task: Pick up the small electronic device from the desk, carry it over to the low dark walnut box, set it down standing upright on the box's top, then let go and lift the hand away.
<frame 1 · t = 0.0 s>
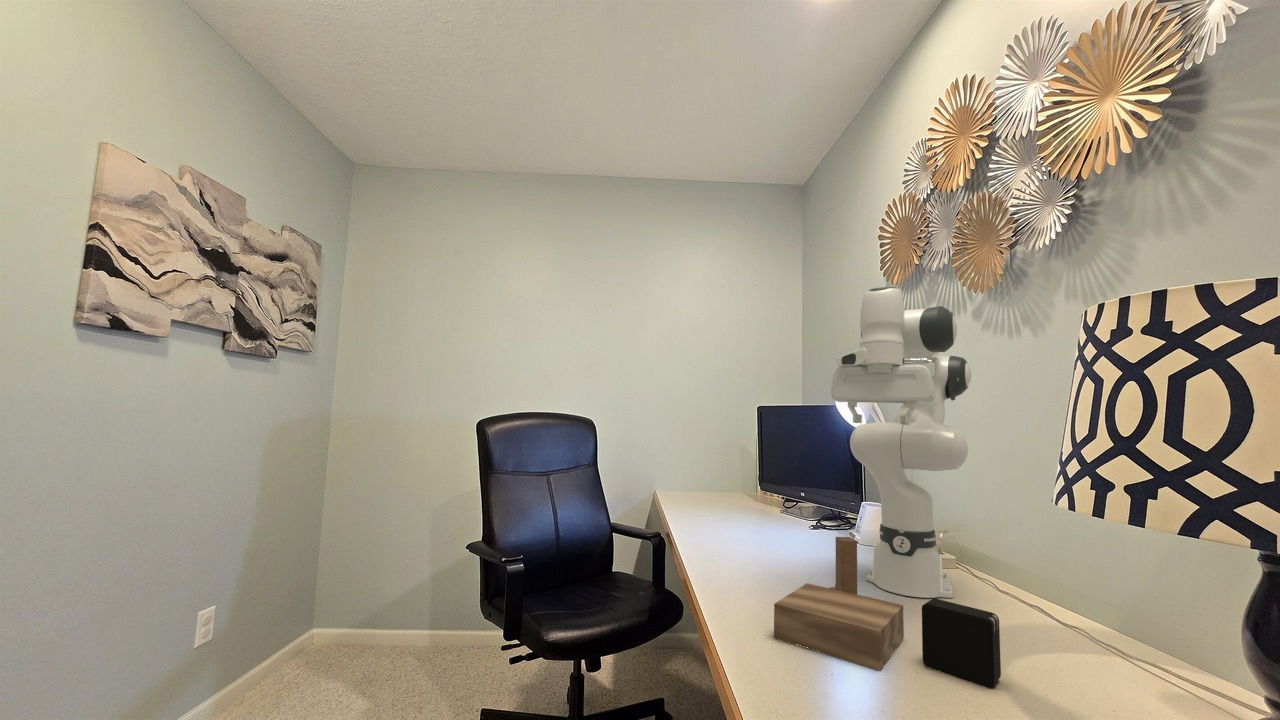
hand: (880, 423, 112), 39 cm above the table, tool pointing down, fingers open, 8 cm apart
wooden block: (843, 611, 111), on the table
walnut box: (839, 638, 97), on the table
electronic device: (960, 674, 85), on the table
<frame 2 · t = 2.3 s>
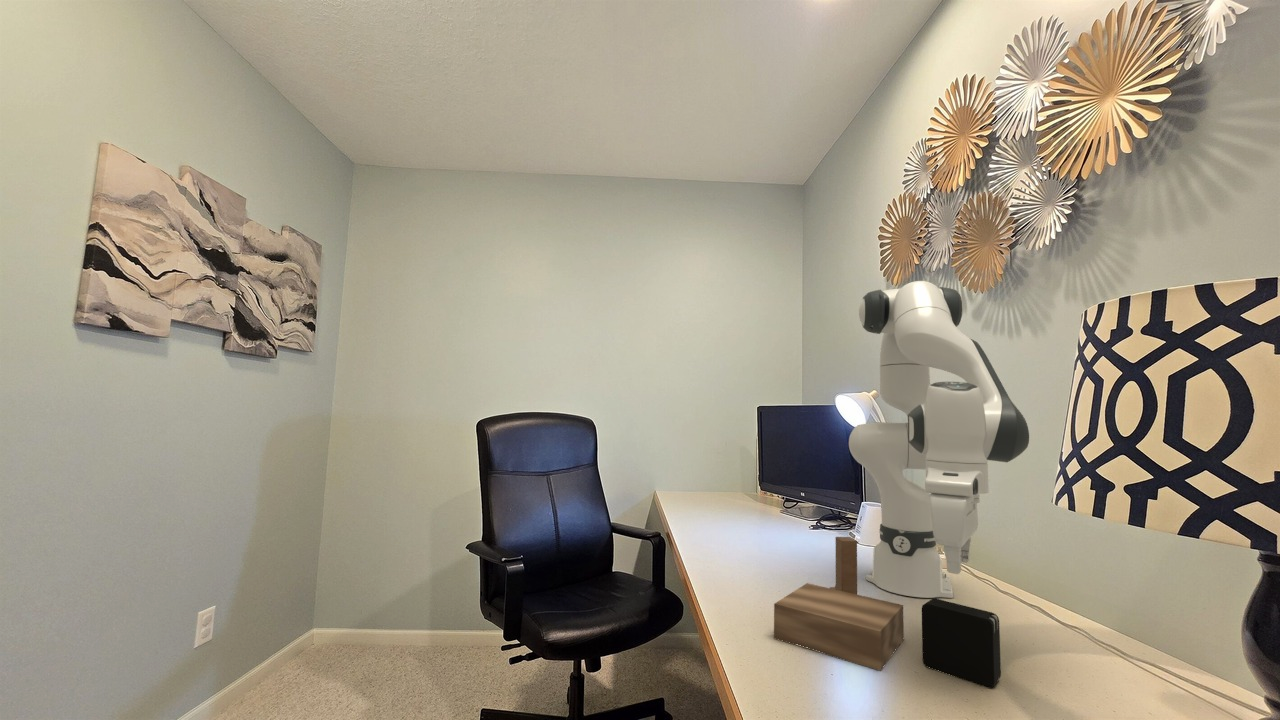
hand: (958, 566, 86), 16 cm above the table, tool pointing down, fingers open, 8 cm apart
nothing on the table moved.
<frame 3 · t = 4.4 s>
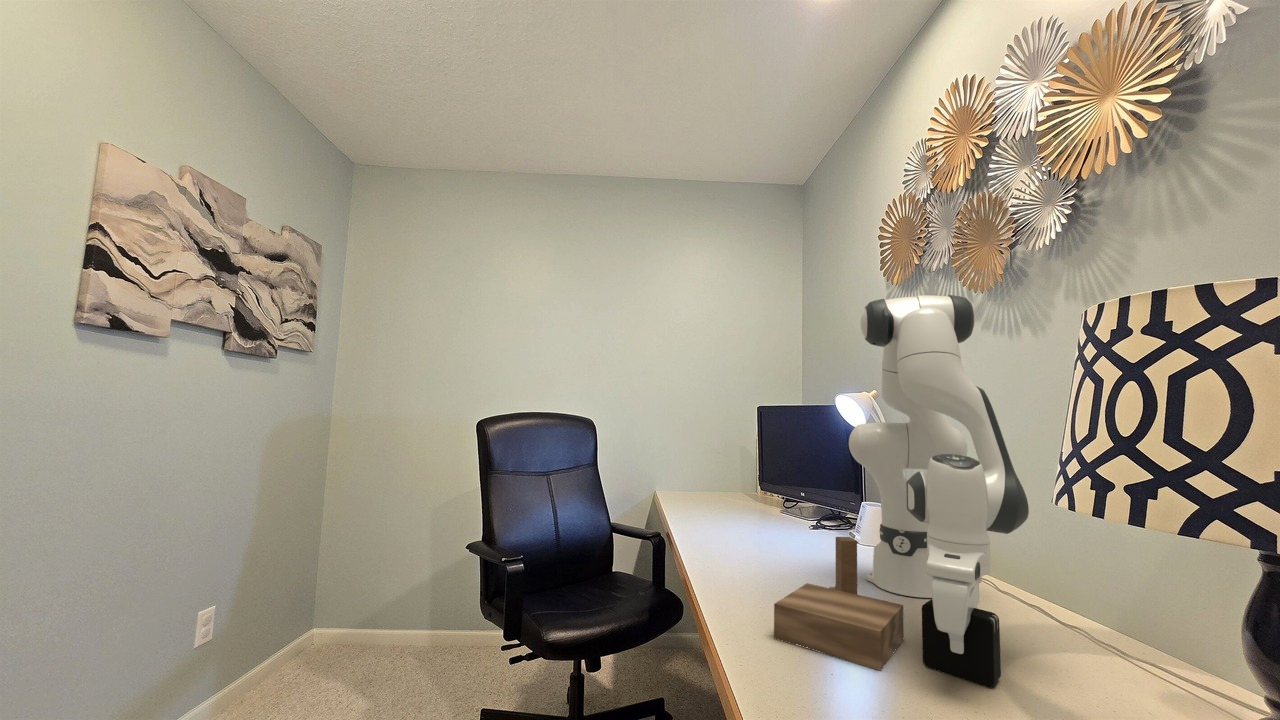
hand: (960, 646, 85), 4 cm above the table, tool pointing down, fingers closed on electronic device, 4 cm apart
electronic device: (960, 674, 85), on the table, touching gripper
everything else where it was.
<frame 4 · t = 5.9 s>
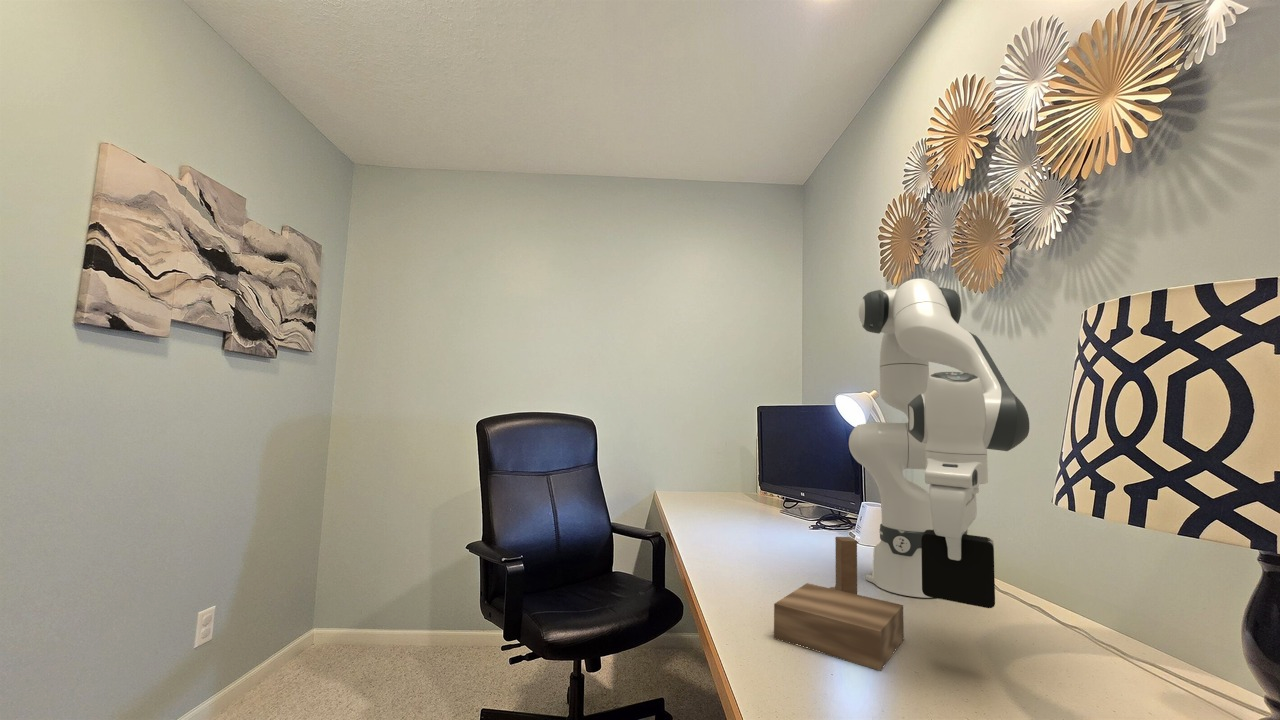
hand: (957, 555, 87), 18 cm above the table, tool pointing down, fingers closed on electronic device, 3 cm apart
electronic device: (958, 599, 87), point 11 cm above the table, touching gripper
everything else where it was.
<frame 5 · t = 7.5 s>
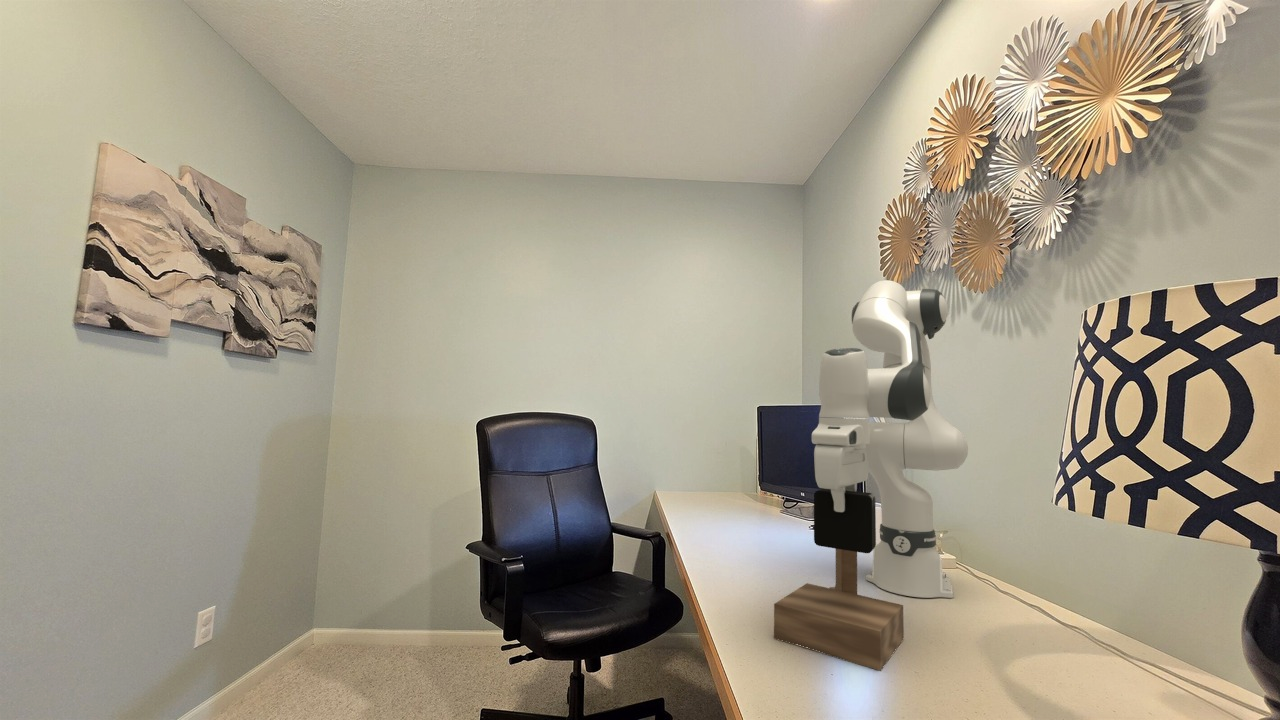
hand: (844, 509, 98), 23 cm above the table, tool pointing down, fingers closed on electronic device, 3 cm apart
electronic device: (844, 548, 98), point 16 cm above the table, touching gripper
everything else where it was.
when the fingers open (13 cm above the table, at t = 9.1 s): electronic device stays where it is, resting on walnut box.
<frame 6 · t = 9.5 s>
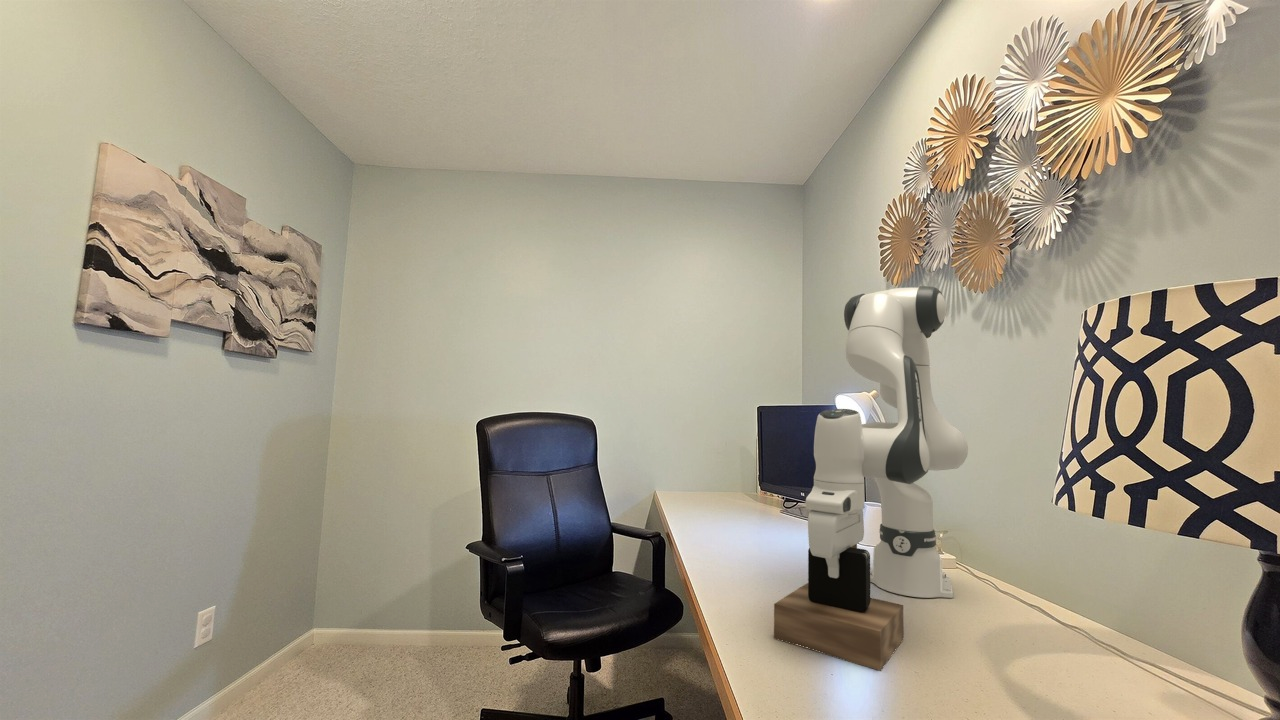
hand: (838, 573, 98), 11 cm above the table, tool pointing down, fingers open, 4 cm apart
electronic device: (839, 605, 97), point 6 cm above the table, touching walnut box
everything else where it was.
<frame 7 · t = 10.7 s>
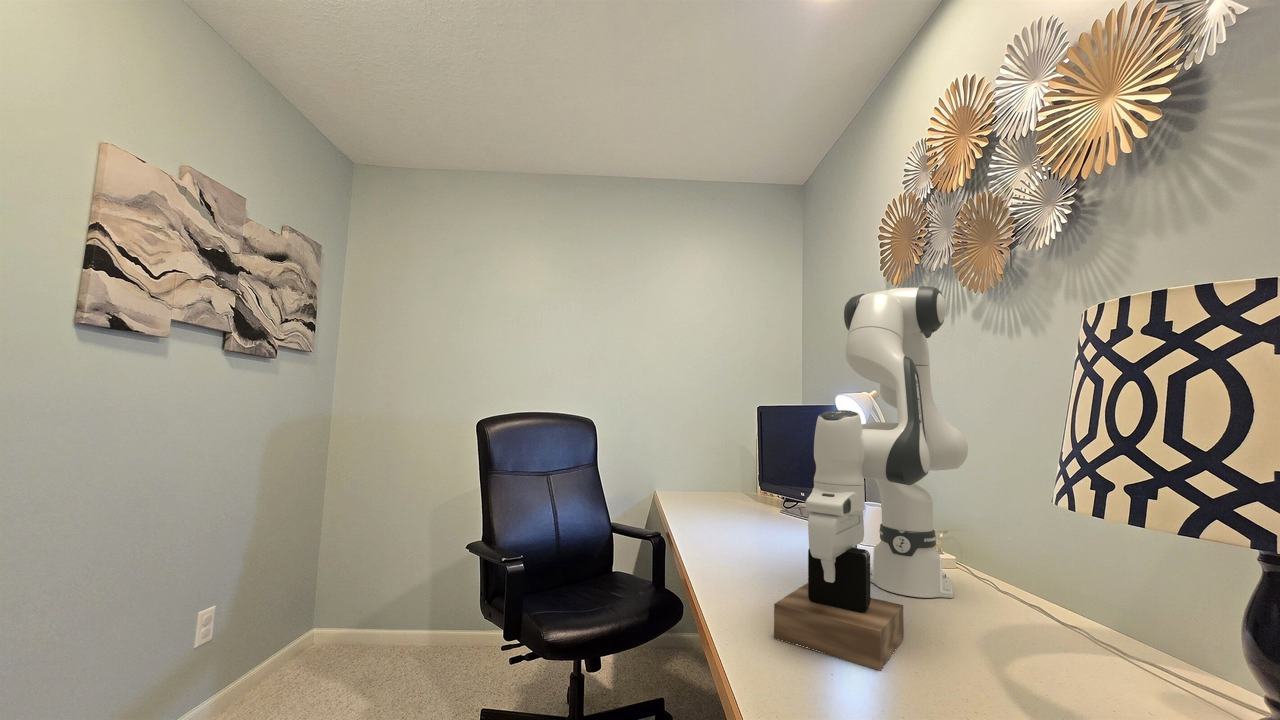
hand: (839, 575, 98), 11 cm above the table, tool pointing down, fingers open, 8 cm apart
nothing on the table moved.
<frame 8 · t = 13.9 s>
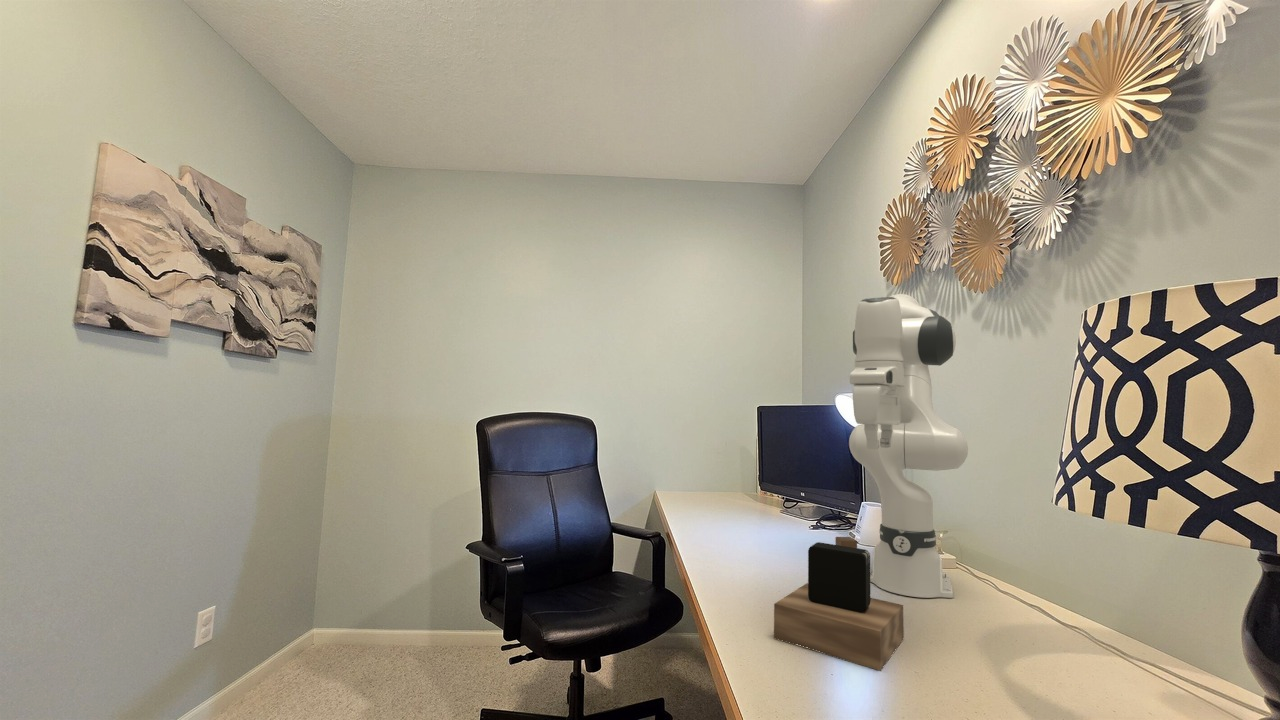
hand: (879, 448, 104), 34 cm above the table, tool pointing down, fingers open, 8 cm apart
nothing on the table moved.
at the end: electronic device inside the target area on the walnut box (0.0 cm from its centre), point 5.8 cm above the walnut box's base; electronic device tilted 0°; the gripper is holding nothing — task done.
